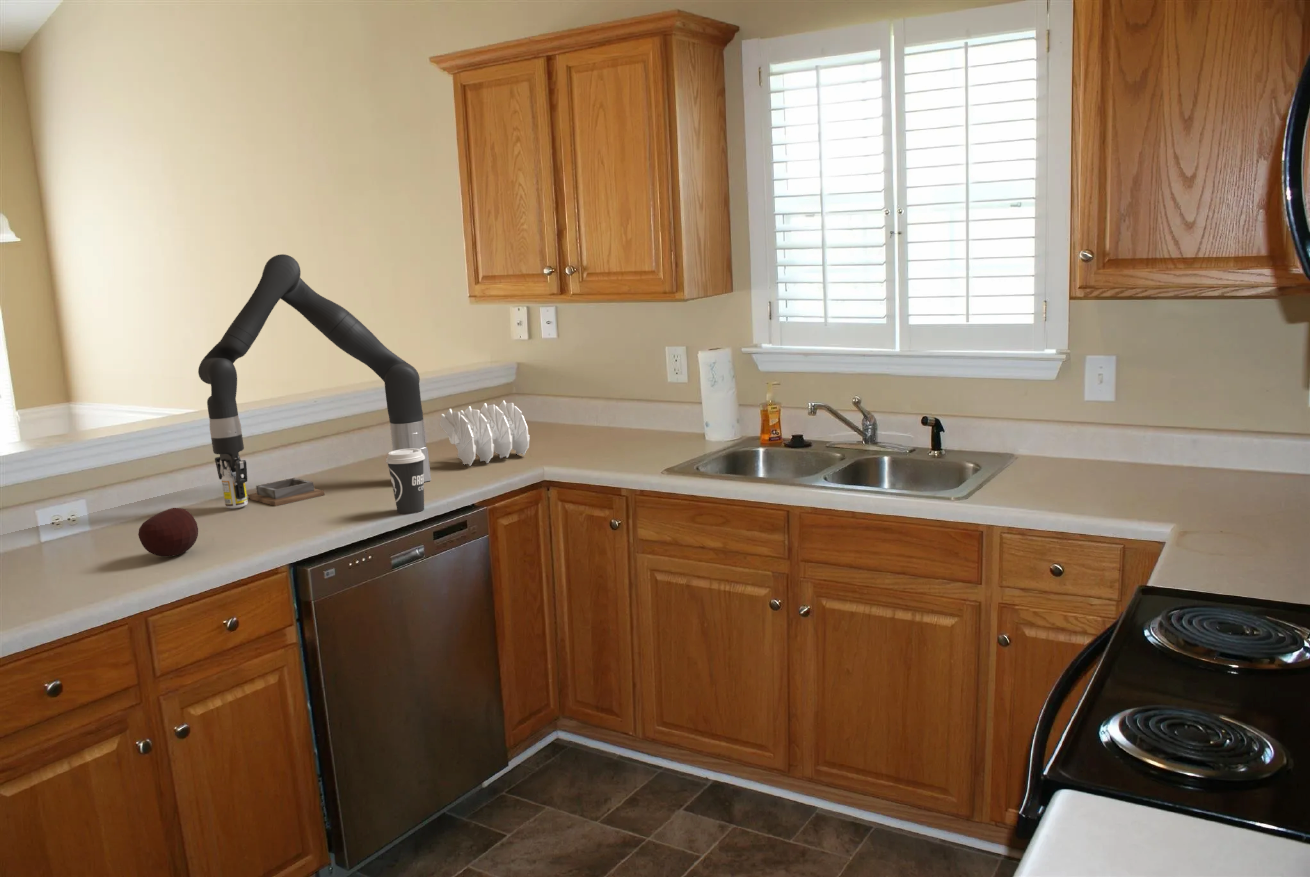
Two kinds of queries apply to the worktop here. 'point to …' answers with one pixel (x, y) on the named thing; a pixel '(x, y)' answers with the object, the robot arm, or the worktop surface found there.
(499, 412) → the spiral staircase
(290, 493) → the holder
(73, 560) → the worktop surface
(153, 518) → the potato
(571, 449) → the worktop surface
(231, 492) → the supplement bottle
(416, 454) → the coffee cup
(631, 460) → the worktop surface
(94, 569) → the worktop surface
